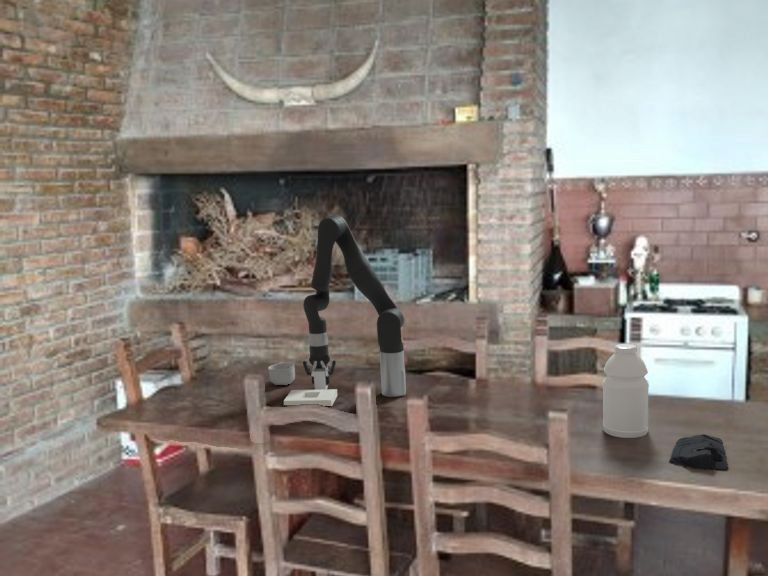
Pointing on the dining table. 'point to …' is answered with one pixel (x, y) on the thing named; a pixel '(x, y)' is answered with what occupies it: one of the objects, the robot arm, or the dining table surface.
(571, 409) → the dining table surface
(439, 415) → the dining table surface
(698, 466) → the dark slate chunk
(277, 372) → the teacup
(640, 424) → the bottle
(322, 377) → the plug
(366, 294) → the robot arm
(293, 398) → the socket plate
